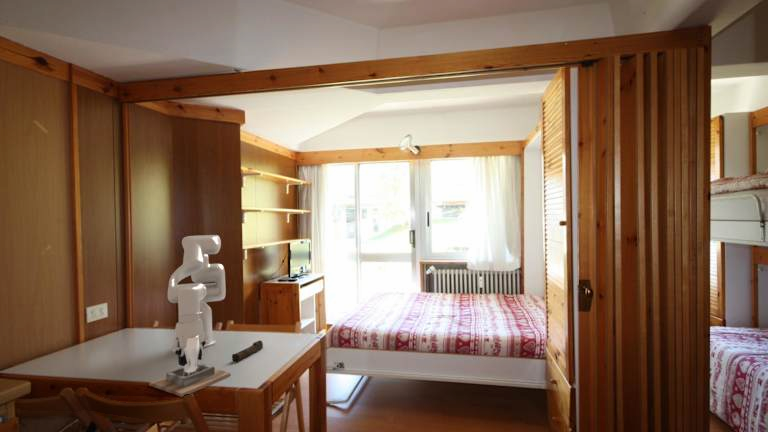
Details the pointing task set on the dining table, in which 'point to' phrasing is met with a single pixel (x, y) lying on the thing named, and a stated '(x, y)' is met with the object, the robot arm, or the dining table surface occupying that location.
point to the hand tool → (247, 351)
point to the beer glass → (191, 356)
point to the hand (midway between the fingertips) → (190, 361)
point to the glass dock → (189, 380)
